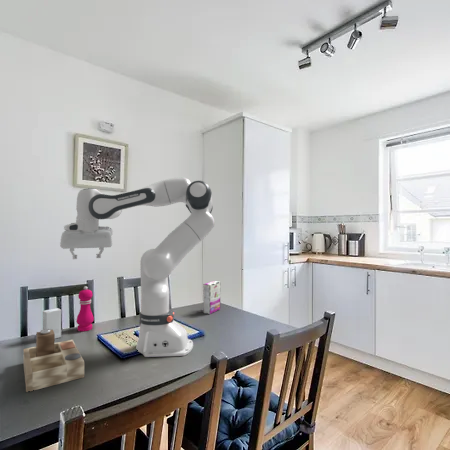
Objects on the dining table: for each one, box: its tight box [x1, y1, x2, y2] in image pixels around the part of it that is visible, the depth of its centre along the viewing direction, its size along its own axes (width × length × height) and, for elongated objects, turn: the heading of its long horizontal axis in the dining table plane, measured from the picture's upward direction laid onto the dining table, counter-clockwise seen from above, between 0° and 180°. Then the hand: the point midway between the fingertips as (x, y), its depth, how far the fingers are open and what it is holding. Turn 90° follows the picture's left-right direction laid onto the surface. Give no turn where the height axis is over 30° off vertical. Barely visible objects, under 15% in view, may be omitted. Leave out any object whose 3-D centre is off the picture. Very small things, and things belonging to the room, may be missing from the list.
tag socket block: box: [22, 339, 85, 393], centre depth 100 cm, size 16×22×5 cm
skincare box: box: [42, 307, 62, 339], centre depth 128 cm, size 6×4×12 cm
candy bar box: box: [202, 280, 221, 315], centre depth 171 cm, size 11×5×16 cm, turn 149°
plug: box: [35, 328, 56, 357], centre depth 104 cm, size 5×5×11 cm
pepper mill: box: [76, 285, 95, 332], centre depth 139 cm, size 7×7×20 cm
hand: (86, 258), depth 128 cm, fingers open, 8 cm apart
